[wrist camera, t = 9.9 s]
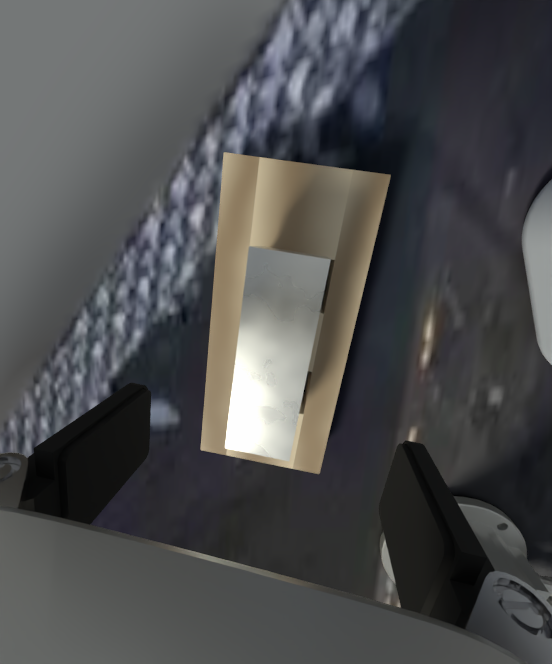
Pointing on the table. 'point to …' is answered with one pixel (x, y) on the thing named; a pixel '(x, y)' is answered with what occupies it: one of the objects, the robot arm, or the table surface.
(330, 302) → the birch rail
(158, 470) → the table surface
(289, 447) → the brushed steel block
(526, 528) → the table surface
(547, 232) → the plastic bottle
